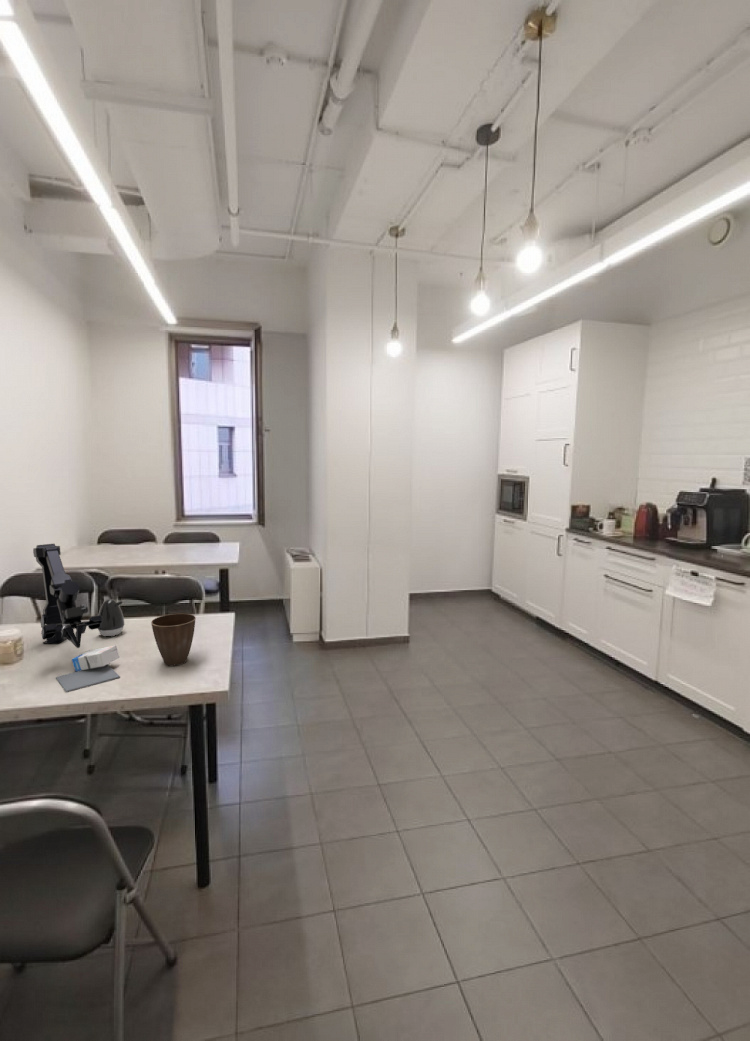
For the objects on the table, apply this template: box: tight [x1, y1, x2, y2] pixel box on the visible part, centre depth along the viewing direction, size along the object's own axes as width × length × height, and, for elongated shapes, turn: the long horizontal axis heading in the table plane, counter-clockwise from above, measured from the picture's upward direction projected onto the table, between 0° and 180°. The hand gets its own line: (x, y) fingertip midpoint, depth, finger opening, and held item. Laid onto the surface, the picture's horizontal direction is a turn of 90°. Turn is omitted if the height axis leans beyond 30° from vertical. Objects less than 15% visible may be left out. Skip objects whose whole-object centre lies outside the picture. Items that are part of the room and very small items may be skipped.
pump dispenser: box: [97, 598, 126, 637], centre depth 214 cm, size 10×10×15 cm
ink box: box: [71, 644, 120, 672], centre depth 181 cm, size 9×5×12 cm
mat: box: [55, 664, 121, 693], centre depth 173 cm, size 14×16×1 cm
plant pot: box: [151, 613, 197, 667], centre depth 186 cm, size 15×15×16 cm
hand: (78, 647), depth 180 cm, fingers closed
